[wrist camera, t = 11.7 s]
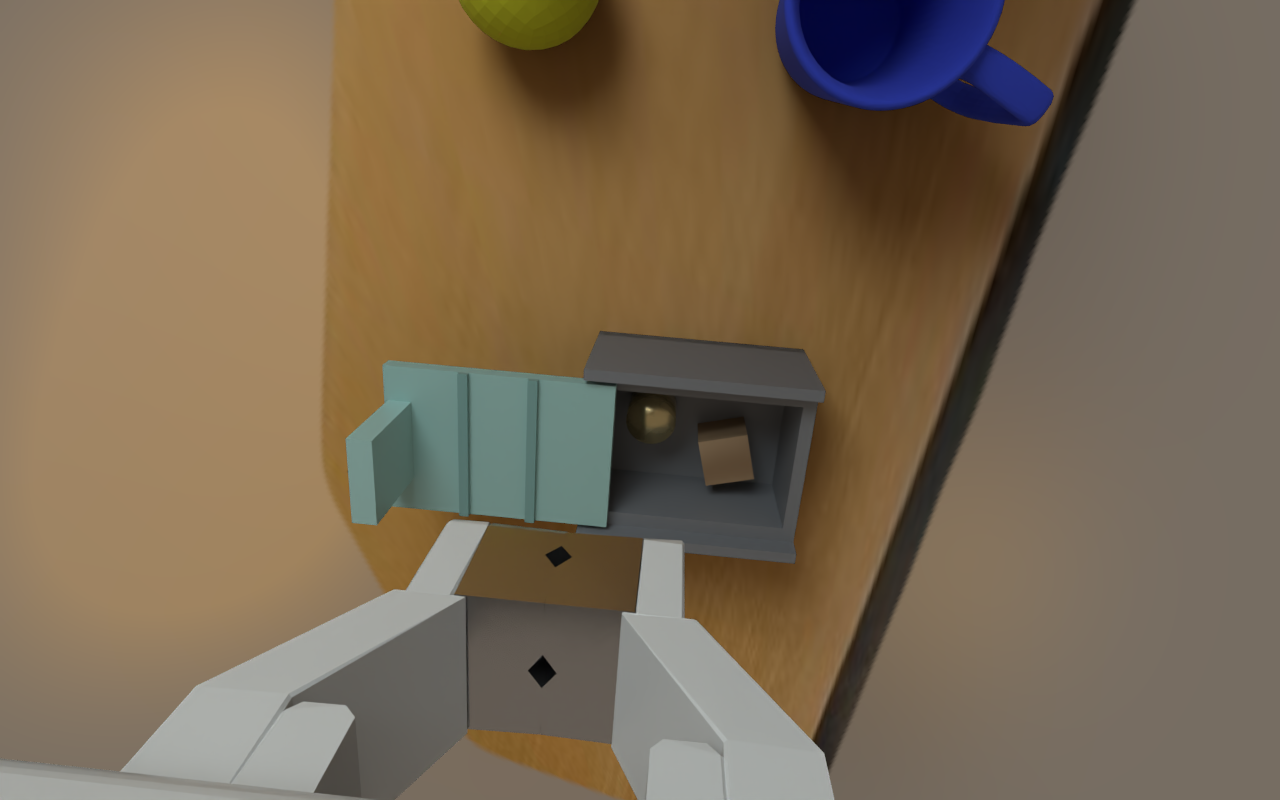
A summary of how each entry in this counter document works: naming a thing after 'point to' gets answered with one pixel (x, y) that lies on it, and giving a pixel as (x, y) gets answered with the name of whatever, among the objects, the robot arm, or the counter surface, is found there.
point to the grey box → (672, 470)
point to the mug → (907, 57)
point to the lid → (485, 445)
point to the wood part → (725, 451)
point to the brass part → (651, 417)
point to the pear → (530, 20)
